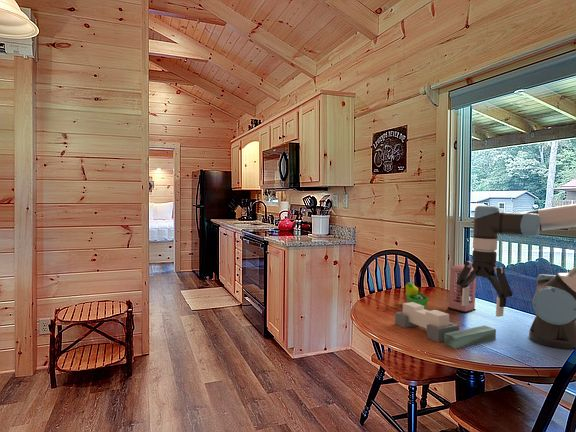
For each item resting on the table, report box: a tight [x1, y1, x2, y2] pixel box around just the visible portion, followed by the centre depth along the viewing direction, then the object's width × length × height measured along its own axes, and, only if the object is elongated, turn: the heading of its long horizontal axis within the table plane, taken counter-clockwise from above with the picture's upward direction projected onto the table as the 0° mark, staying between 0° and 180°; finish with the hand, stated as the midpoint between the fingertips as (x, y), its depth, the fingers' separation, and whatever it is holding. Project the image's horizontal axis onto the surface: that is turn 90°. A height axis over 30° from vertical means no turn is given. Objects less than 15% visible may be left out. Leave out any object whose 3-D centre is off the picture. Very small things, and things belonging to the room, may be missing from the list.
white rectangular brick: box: [402, 302, 450, 330], centre depth 146 cm, size 18×5×6 cm, turn 26°
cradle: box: [394, 310, 460, 343], centre depth 146 cm, size 22×10×4 cm, turn 26°
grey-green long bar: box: [443, 324, 497, 349], centre depth 135 cm, size 4×20×4 cm, turn 116°
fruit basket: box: [405, 281, 429, 310], centre depth 178 cm, size 11×9×11 cm
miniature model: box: [447, 264, 477, 314], centre depth 174 cm, size 9×9×20 cm
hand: (481, 310), depth 138 cm, fingers open, 13 cm apart
